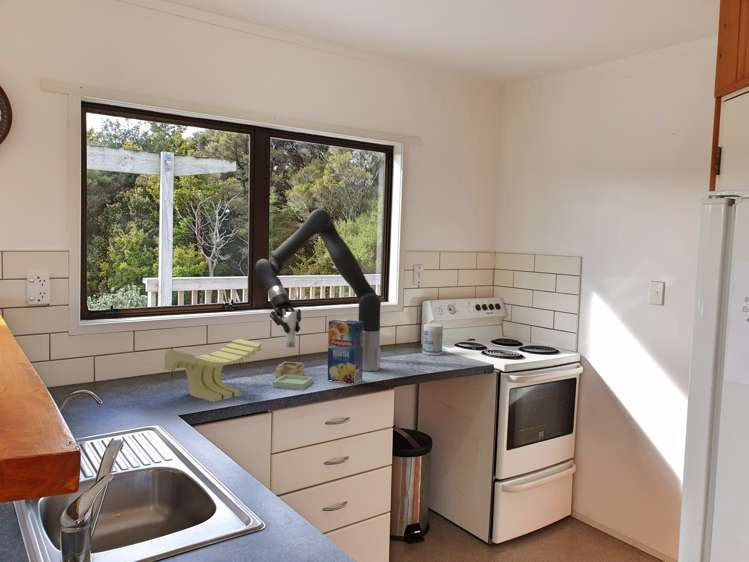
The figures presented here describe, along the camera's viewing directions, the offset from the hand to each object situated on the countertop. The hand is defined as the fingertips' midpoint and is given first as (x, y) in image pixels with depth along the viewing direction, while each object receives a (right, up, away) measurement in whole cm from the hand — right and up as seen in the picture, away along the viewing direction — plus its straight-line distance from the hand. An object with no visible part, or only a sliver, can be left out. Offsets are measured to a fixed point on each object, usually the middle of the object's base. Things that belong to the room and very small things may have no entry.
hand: (293, 331), depth 249 cm
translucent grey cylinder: (-1, -6, +2) cm, 7 cm away
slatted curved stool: (-25, -21, -26) cm, 42 cm away
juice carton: (+21, -20, -1) cm, 29 cm away
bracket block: (-2, -19, +3) cm, 19 cm away
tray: (+1, -20, -10) cm, 22 cm away
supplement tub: (+61, -16, +57) cm, 85 cm away
